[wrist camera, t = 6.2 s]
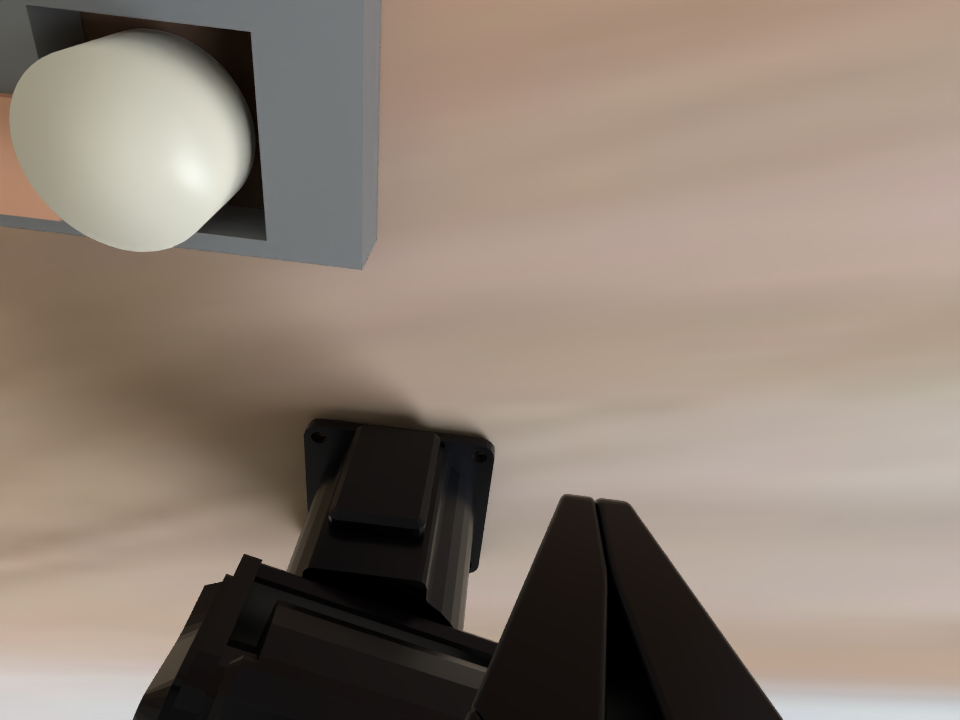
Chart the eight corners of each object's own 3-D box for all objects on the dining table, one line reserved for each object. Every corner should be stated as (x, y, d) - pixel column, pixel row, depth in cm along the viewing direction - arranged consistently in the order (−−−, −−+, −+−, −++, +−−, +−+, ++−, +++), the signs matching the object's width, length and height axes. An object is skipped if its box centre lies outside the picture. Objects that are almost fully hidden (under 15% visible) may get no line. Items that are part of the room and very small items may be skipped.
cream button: (262, 220, 18) (225, 262, 16) (97, 200, 18) (38, 240, 16) (247, 40, 16) (202, 61, 14) (58, 17, 16) (-18, 35, 14)
